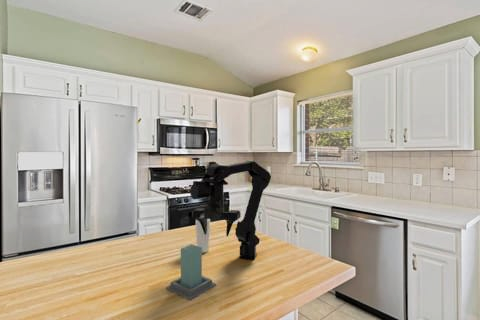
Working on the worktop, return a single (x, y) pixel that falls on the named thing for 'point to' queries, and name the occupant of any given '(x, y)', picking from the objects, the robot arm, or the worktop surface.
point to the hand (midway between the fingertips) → (216, 235)
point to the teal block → (191, 266)
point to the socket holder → (190, 293)
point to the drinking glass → (203, 236)
